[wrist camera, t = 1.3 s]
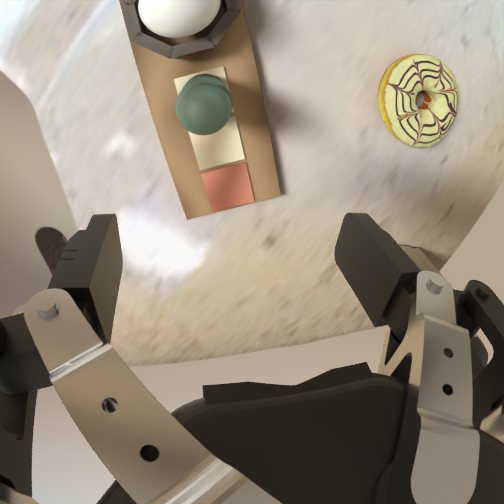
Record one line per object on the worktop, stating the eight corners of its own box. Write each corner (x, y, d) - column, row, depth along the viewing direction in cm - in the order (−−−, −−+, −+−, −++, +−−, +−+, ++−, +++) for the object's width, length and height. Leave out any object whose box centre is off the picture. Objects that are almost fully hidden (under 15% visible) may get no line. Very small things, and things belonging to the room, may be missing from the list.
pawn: (221, 69, 23) (229, 75, 16) (231, 110, 26) (243, 136, 18) (176, 80, 23) (163, 93, 16) (187, 121, 26) (181, 151, 18)
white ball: (210, -30, 17) (213, -51, 12) (225, 29, 20) (231, 23, 16) (139, -10, 17) (122, -26, 12) (154, 48, 20) (141, 47, 16)
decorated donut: (453, 117, 29) (472, 127, 26) (390, 154, 32) (408, 167, 29) (428, 41, 23) (450, 44, 20) (356, 74, 26) (375, 78, 23)
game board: (229, -41, 17) (233, -54, 14) (278, 191, 33) (287, 209, 30) (118, -12, 17) (107, -20, 14) (187, 215, 33) (186, 234, 30)
